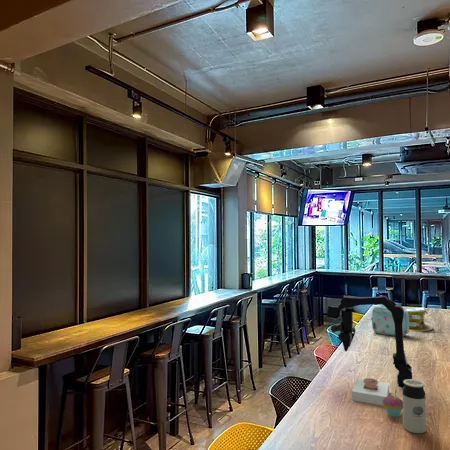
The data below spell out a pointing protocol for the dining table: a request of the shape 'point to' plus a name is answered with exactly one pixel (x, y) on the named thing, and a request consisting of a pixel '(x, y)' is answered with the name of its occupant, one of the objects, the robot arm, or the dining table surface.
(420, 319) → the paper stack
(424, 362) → the dining table surface
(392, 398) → the cupcake
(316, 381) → the dining table surface
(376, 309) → the lunch box
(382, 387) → the button box
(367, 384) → the button
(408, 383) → the travel mug
